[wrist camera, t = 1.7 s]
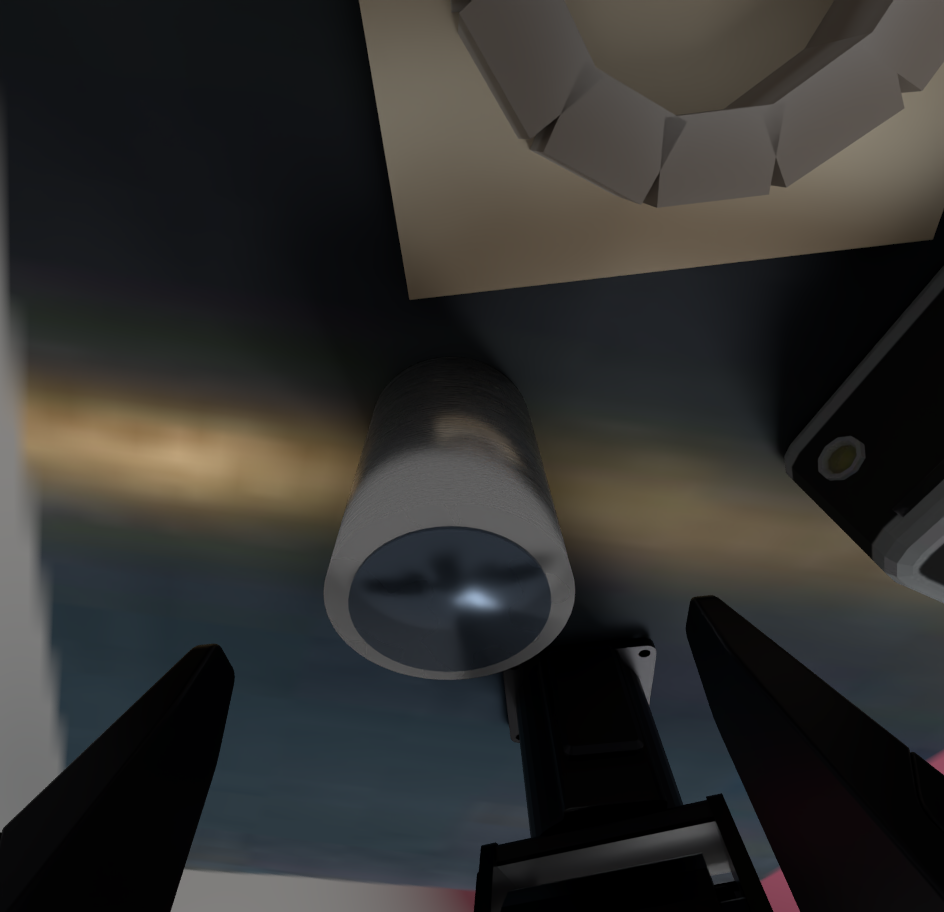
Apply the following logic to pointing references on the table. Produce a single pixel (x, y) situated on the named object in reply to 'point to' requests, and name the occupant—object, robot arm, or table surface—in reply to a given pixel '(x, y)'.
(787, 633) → the table surface
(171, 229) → the table surface
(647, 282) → the table surface
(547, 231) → the mount
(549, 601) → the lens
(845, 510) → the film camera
